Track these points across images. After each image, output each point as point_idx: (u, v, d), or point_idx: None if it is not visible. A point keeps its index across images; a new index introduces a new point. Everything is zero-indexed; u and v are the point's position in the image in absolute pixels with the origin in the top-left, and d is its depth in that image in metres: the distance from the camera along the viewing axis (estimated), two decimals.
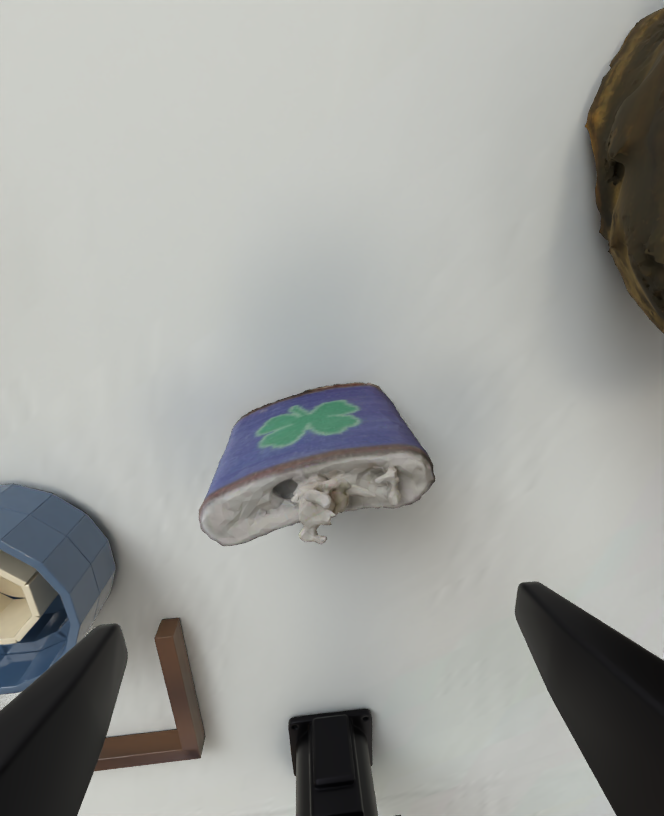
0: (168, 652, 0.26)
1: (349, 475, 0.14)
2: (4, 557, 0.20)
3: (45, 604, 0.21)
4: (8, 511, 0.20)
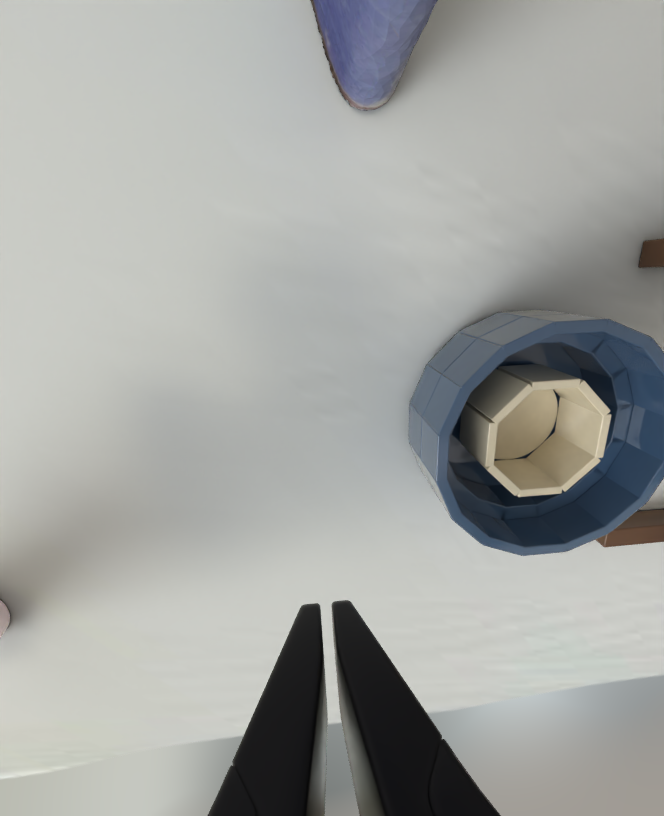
0: None
1: None
2: (491, 407, 0.17)
3: (566, 375, 0.17)
4: (433, 394, 0.17)
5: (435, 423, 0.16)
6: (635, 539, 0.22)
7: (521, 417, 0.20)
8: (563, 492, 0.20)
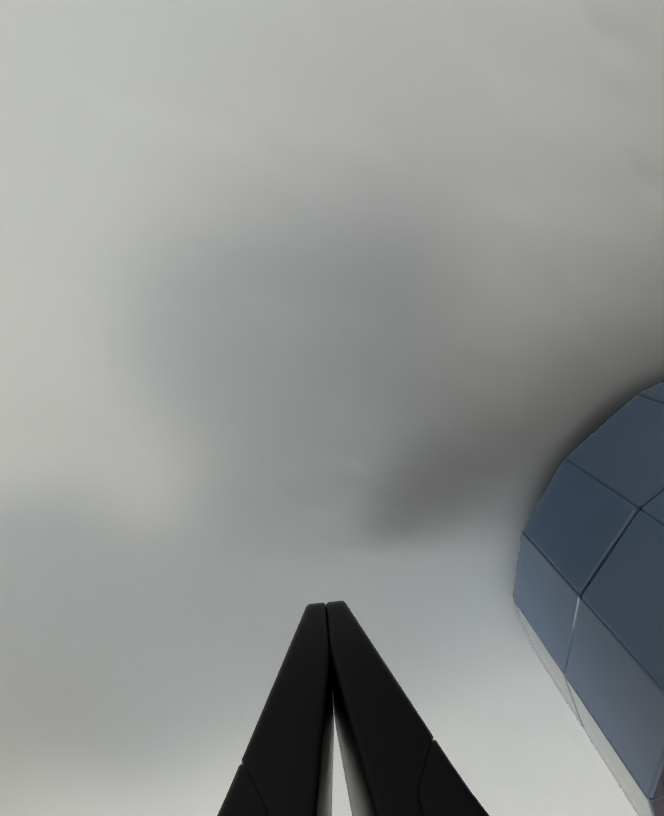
0: None
1: None
2: None
3: None
4: (616, 554, 0.07)
5: (651, 655, 0.06)
6: None
7: None
8: None
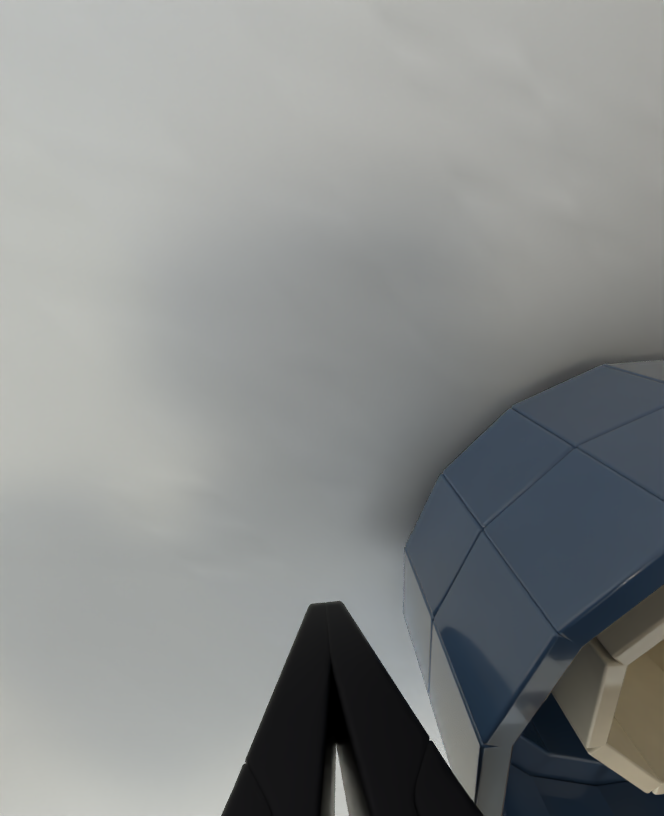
0: None
1: None
2: None
3: None
4: (461, 576, 0.07)
5: (470, 685, 0.06)
6: None
7: None
8: None
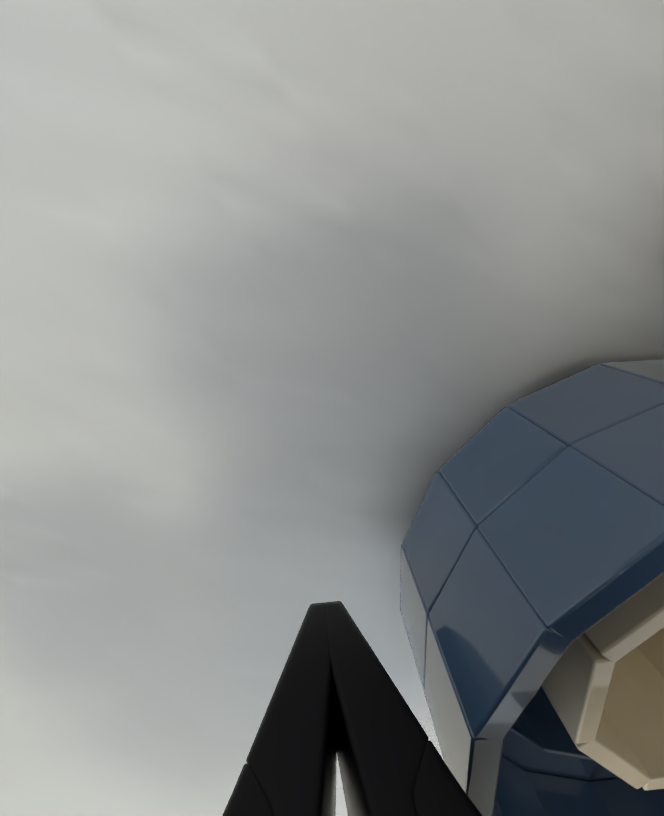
0: None
1: None
2: None
3: None
4: (455, 572, 0.07)
5: (462, 679, 0.06)
6: None
7: None
8: None
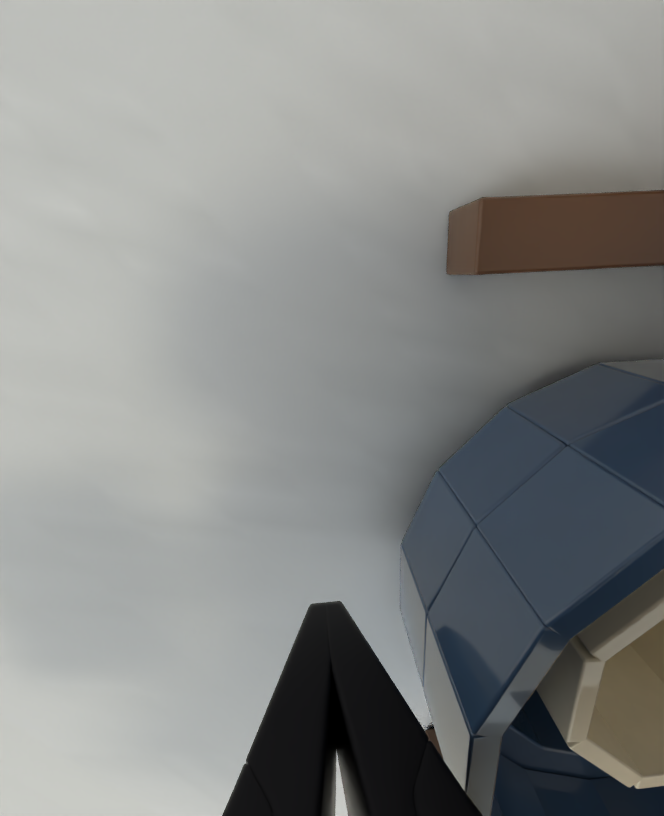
0: (554, 227, 0.07)
1: None
2: None
3: None
4: (454, 571, 0.07)
5: (461, 677, 0.06)
6: None
7: None
8: None
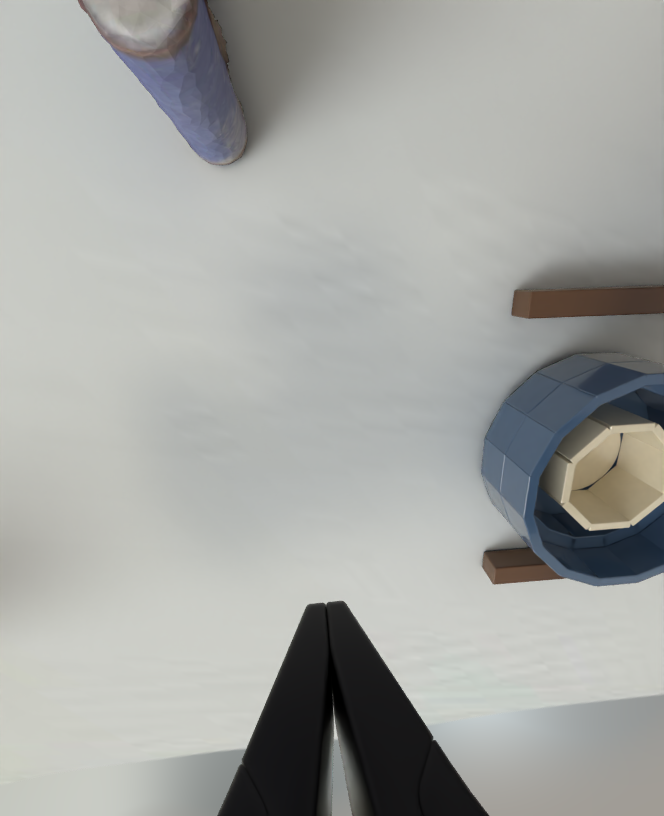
0: (557, 301, 0.18)
1: None
2: (567, 447, 0.18)
3: (640, 418, 0.18)
4: (518, 434, 0.18)
5: (524, 463, 0.17)
6: (524, 577, 0.23)
7: None
8: None
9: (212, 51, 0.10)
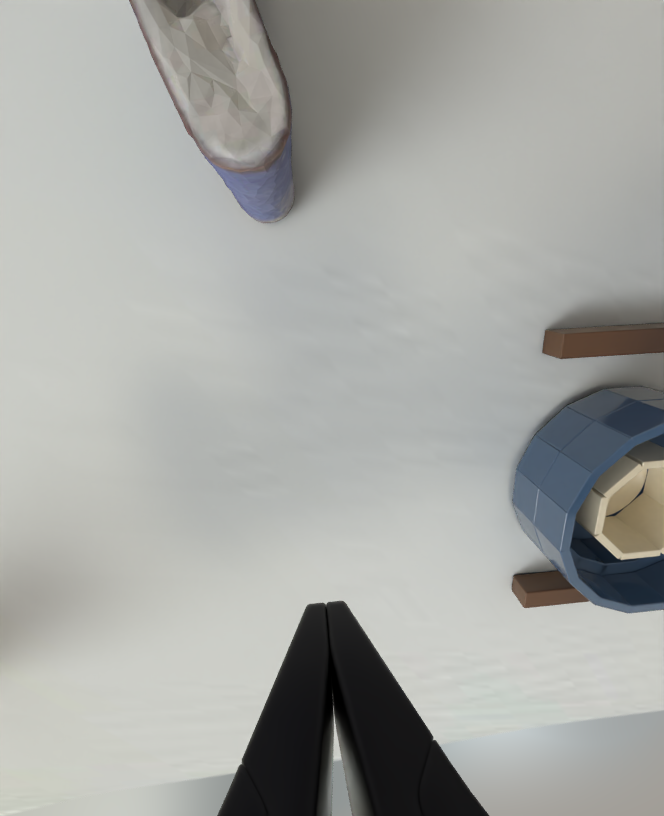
0: (589, 342, 0.18)
1: None
2: (600, 481, 0.19)
3: None
4: (552, 469, 0.19)
5: (560, 499, 0.18)
6: (554, 601, 0.23)
7: None
8: None
9: (290, 150, 0.10)
